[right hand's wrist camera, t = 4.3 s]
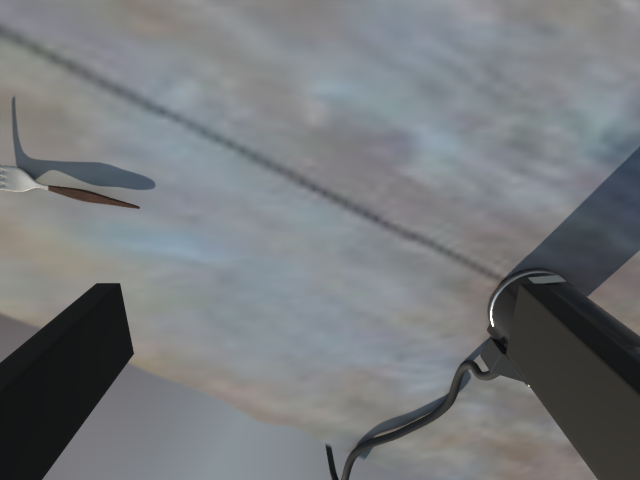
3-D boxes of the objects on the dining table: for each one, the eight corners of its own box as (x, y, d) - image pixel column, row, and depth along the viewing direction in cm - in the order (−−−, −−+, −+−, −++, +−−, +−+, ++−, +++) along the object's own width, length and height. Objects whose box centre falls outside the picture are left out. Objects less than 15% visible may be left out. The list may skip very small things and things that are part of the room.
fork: (140, 218, 41) (132, 224, 39) (-17, 183, 39) (-34, 188, 38) (142, 194, 40) (134, 199, 38) (-19, 158, 39) (-36, 161, 37)
